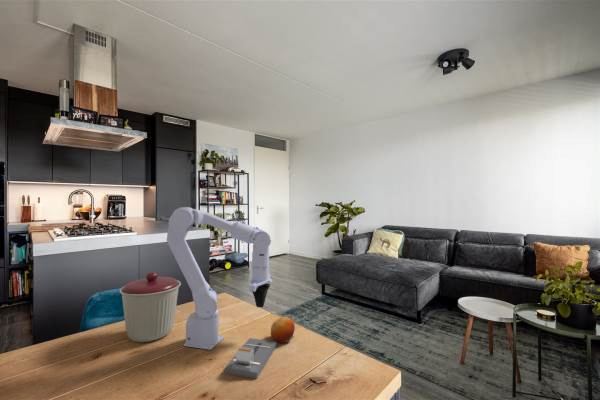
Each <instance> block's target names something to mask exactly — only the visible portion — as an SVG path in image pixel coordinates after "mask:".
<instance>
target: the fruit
mask: <svg viewBox="0 0 600 400" xmlns="http://www.w3.org/2000/svg"><path fill="white" fill-rule="evenodd" d="M295 330H296V327H295V323H294V321H293V320H292V319H291V318H290V317H288V316H282V317H279V318H278V319H277V320H275V321H273V323H272V324H271V327H270V337H271V338H272V339H273V340H274V341H275V342H276V343H282V344H284V343H290V341H291V339H292V338H294V333H295Z"/></svg>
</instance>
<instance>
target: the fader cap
mask: <svg viewBox="0 0 600 400" xmlns="http://www.w3.org/2000/svg"><path fill="white" fill-rule="evenodd" d="M235 351H236V352H235V355H236V364H238V365H244V366H251V365H252V364H253V362H254V349H252V348H245V347H243V346H240V347H239V348H237V350H235Z"/></svg>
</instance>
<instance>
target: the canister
mask: <svg viewBox="0 0 600 400" xmlns="http://www.w3.org/2000/svg"><path fill="white" fill-rule="evenodd" d="M158 275H159V274H158V272H156V271H150V272H148V273H146V274H145V278H140V279H136V280H132V281H130V282H128V283H126V284H125V285H124V286H122V287H121V288H119V293H120V294H121V296H122V297H121V298H122V307H123V316H124V325H125V330H126V335H127V337H128V339H130V340H131V341H133V342H135V343H137V342H138V343H147V342H152V341H156V340H159V339H162V338H163V337H165V336H167V335H168V334H169V333H170V332H171V331H172V329H173V327H174V322H175V316H176V310H177V304H178V303H177V302H178V295H179V288H180V286H181V285H182V282H181V281H180V280H178V279H176V278H174V277H169V276H158Z"/></svg>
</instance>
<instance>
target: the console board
mask: <svg viewBox="0 0 600 400" xmlns="http://www.w3.org/2000/svg"><path fill="white" fill-rule="evenodd" d="M242 347H245V348H252V349H254V362H253V364H252V365H251V366H244V365H238V364H236V354H234V356H233V357H232V358H231V360H230V361H228V363H227V365H225V366H224V374H226V375H233V376H239V377H246V378H251V379H256V380H257V379H258V378H259V376H260V375H261V373H262V371H263V369H264V368H265V366H266V364H267V363H268V361H269V360H270V358H271V356H272V355H273V353H274V351H275V349H276V348H277V342H276V341H275V340H274V341H273V340H265V339H259V338H251V337H249V338H248V339H247V340H246V342H245V343H244V344H243V346H242Z"/></svg>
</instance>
